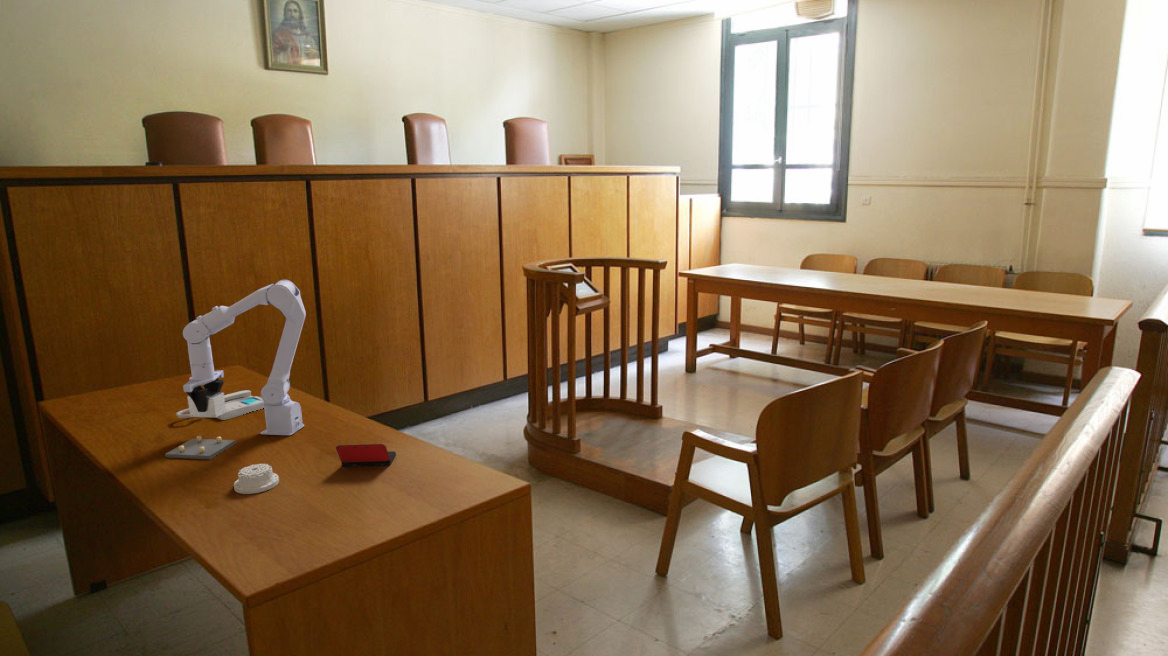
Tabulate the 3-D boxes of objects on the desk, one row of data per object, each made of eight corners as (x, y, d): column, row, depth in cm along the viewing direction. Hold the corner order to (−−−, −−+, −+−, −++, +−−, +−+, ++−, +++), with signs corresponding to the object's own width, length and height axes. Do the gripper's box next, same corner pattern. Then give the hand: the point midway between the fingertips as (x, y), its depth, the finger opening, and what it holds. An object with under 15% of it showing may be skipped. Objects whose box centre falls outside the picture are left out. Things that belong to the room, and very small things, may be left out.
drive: (226, 412, 207) (223, 391, 205) (215, 417, 202) (212, 396, 201) (201, 411, 208) (198, 391, 207) (190, 416, 204) (187, 396, 202)
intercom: (168, 408, 219) (247, 387, 238) (170, 422, 220) (249, 400, 239) (189, 417, 211) (269, 394, 231) (191, 431, 212) (271, 407, 232)
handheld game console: (397, 455, 192) (395, 428, 190) (387, 472, 181) (385, 444, 180) (350, 456, 192) (347, 429, 190) (337, 473, 181) (334, 445, 179)
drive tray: (235, 443, 201) (234, 435, 200) (210, 459, 190) (209, 450, 190) (193, 441, 203) (192, 433, 202) (165, 457, 192) (164, 448, 192)
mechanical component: (225, 493, 171) (262, 496, 169) (222, 476, 170) (260, 479, 168) (252, 476, 180) (287, 478, 178) (249, 459, 179) (285, 462, 177)
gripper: (205, 355, 209) (211, 399, 212) (170, 369, 195) (177, 416, 198) (227, 356, 208) (233, 400, 211) (194, 370, 194) (200, 417, 197)
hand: (208, 408), depth 205 cm, fingers closed on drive, 5 cm apart
